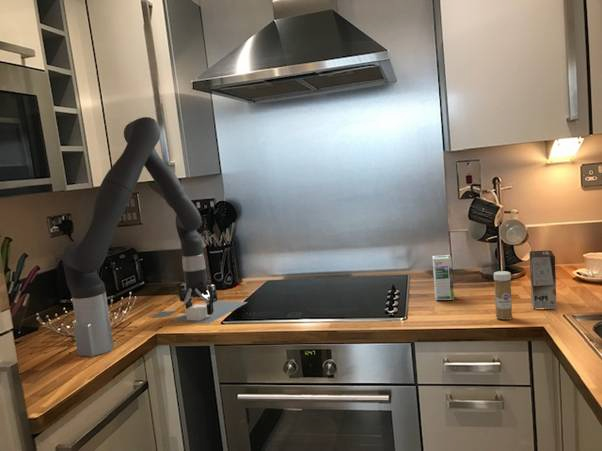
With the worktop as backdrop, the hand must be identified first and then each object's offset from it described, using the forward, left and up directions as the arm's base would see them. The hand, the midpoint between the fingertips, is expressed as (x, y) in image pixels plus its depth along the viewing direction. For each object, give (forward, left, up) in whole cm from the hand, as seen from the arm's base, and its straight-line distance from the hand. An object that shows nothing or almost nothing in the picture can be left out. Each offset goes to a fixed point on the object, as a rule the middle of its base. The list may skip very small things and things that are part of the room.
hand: (200, 313), depth 174 cm
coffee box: (+30, -106, -2) cm, 110 cm away
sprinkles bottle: (+16, -96, -2) cm, 97 cm away
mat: (+6, 0, -1) cm, 6 cm away
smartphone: (-4, +15, -2) cm, 16 cm away
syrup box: (+33, -76, -2) cm, 83 cm away
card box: (0, 0, -1) cm, 1 cm away
